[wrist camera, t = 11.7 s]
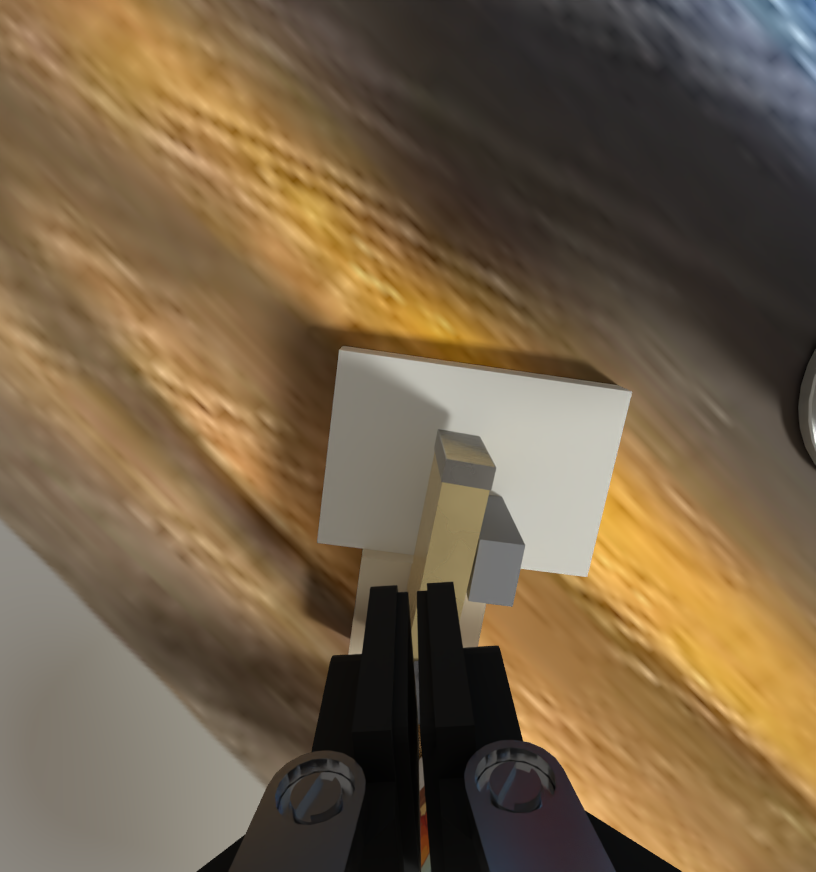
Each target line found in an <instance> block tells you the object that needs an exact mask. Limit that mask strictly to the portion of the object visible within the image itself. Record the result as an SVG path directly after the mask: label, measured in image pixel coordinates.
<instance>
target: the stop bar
mask: <svg viewBox="0 0 816 872" xmlns="http://www.w3.org/2000/svg"><path fill="white" fill-rule="evenodd" d="M434 450H435V452H434V457H433V462H432V467H431V472H430V477H429V482H428V487H427V492H426V497H425V502H424V507H423V512H422V517H421V522H420V527H419V532H418V536H417V541H416V546H415V551H414V556H413V561H412V566H411V571H410V576H409V581H408V586H407V591H406V592H408V595H409V606H410V619H411V632H412V645H413V658H414V671H415V683H416V696H417V710H418V724H420V710H419V669H418V629H417V591H425V590H427V583H437V582H453V583H454V590H455V596H456V603H457V610H458V616H459V622H460V618H461V614H462V609H463V605H464V600H465V596H466V592H467V587H468V583H469V579H470V574H471V570H472V566H473V561H474V557H475V553H476V548H477V544H478V539H479V535H480V531H481V526H482V522H483V518H484V513H485V509H486V505H487V500H488V496H489V492H490V490H491V489H492V485H493V481H494V476H495V472H496V466H495V464H494V462H493V460H492V458H491V456H490V454H489V453H488V451H487V449H486V447H485V445H484V443H483V441H482V439H481V437H480V436H476V435H470V434H464V433H459V432H453V431H447V430H441V429H438V431H437V436H436V441H435V446H434Z"/></svg>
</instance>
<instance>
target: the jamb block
mask: <svg viewBox="0 0 816 872" xmlns="http://www.w3.org/2000/svg"><path fill="white" fill-rule="evenodd" d="M413 556H414V555H409V554H401V553H393V552H385V551H378V550H370V549H363V551H362V559H361V566H360V573H359V581H358V588H357V595H356V603H355V610H354V617H353V625H352V632H351V639H350V646H349V654H348V655H351V654H362V648H363V640H364V632H365V624H366V617H367V609H368V601H369V593H370V587H374V586H390V585H397V586H398V592H406V591H407V586H408V581H409V576H410V571H411V566H412V561H413ZM485 607H486V603H479V602H471V601H468V598H467V593H466V596H465V600H464V605H463V609H462V614H461V618H460V622H459V623H460V630H461V637H462V643H463V648H466V647H478V643H479V638H480V633H481V628H482V622H483V617H484V612H485Z"/></svg>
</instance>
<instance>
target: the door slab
mask: <svg viewBox="0 0 816 872" xmlns="http://www.w3.org/2000/svg"><path fill="white" fill-rule="evenodd" d="M631 394H632V392H631V391H629V390H627V389H625V388H623V387H621V386H619V385H613V384H606V383H599V382H592V381H585V380H578V379H571V378H564V377H557V376H550V375H543V374H537V373H530V372H523V371H516V370H509V369H502V368H495V367H488V366H481V365H474V364H467V363H460V362H453V361H446V360H439V359H432V358H425V357H418V356H411V355H404V354H397V353H390V352H383V351H376V350H369V349H362V348H355V347H348V346H342V347H341V348H340V349H339V355H338V364H337V373H336V382H335V390H334V399H333V408H332V416H331V425H330V434H329V442H328V451H327V460H326V469H325V477H324V486H323V495H322V503H321V512H320V521H319V529H318V538H317V543H322V544H330V545H338V546H346V547H354V548H362V549H370V550H378V551H385V552H393V553H401V554H409V555H414V551H415V546H416V541H417V536H418V532H419V527H420V522H421V517H422V512H423V507H424V502H425V497H426V492H427V487H428V482H429V477H430V472H431V467H432V462H433V457H434V452H435V450H434V446H435V441H436V436H437V431H438V429H441V430H447V431H453V432H459V433H464V434H470V435H476V436H480V437H481V439H482V441H483V443H484V445H485V447H486V449H487V451H488V453H489V454H490V456H491V458H492V460H493V462H494V464H495V466H496V472H495V476H494V481H493V485H492V489H491V490H490V492H489V496H488V500H487V505H486V509H485V513H484V518H483V522H482V526H481V531H480V535H479V539H478V544H477V548H476V553H475V557H474V561H473V566H472V570H471V574H470V579H469V583H468V587H467V592H466V593H467V598H468V601H471V602H479V603H487V604H495V605H503V606H511V607H512V606H513V601H514V597H515V592H516V587H517V583H518V578H519V573H520V569H528V570H536V571H544V572H552V573H560V574H568V575H576V576H583V577H587V575H588V571H589V567H590V563H591V559H592V554H593V550H594V546H595V542H596V538H597V534H598V530H599V526H600V522H601V517H602V513H603V509H604V505H605V501H606V497H607V493H608V489H609V485H610V480H611V476H612V472H613V468H614V464H615V460H616V456H617V452H618V448H619V444H620V439H621V435H622V431H623V427H624V423H625V419H626V415H627V411H628V407H629V402H630V398H631Z"/></svg>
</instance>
